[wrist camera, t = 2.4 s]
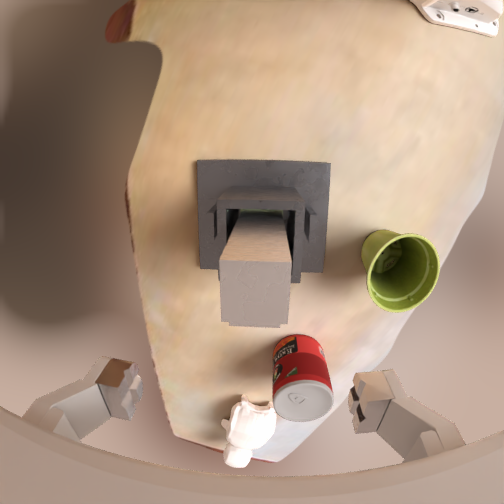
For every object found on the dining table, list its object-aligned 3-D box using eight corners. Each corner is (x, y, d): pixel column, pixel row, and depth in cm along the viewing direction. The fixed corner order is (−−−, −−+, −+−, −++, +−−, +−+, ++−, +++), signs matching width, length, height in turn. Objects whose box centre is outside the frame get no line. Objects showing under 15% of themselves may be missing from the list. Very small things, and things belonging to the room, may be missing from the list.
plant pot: (334, 250, 38) (350, 276, 30) (385, 202, 36) (414, 216, 28) (374, 294, 40) (395, 326, 32) (421, 250, 38) (451, 274, 29)
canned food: (286, 325, 42) (290, 375, 32) (332, 343, 43) (346, 392, 33) (264, 361, 45) (261, 413, 34) (307, 376, 46) (314, 427, 35)
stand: (328, 163, 35) (359, 168, 23) (321, 269, 39) (341, 320, 27) (199, 160, 36) (164, 164, 23) (201, 265, 40) (174, 314, 28)
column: (281, 201, 35) (294, 259, 16) (279, 239, 37) (289, 332, 18) (244, 200, 36) (216, 257, 17) (244, 238, 37) (219, 329, 18)
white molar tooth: (234, 385, 51) (212, 445, 50) (234, 405, 42) (210, 469, 42) (278, 396, 51) (253, 454, 50) (285, 417, 43) (256, 479, 42)
